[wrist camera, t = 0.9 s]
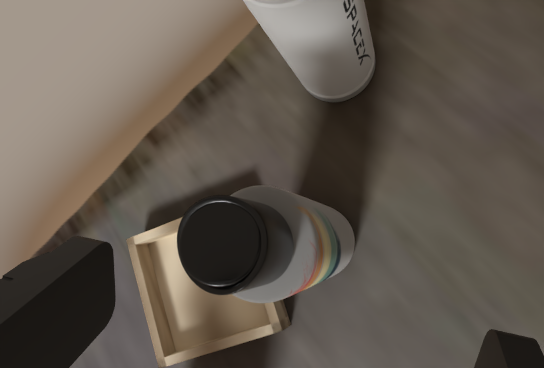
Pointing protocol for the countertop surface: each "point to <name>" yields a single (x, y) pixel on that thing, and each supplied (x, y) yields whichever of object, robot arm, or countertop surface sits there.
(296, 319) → the countertop surface
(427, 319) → the countertop surface
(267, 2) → the travel mug
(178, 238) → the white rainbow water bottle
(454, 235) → the countertop surface
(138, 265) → the tray
